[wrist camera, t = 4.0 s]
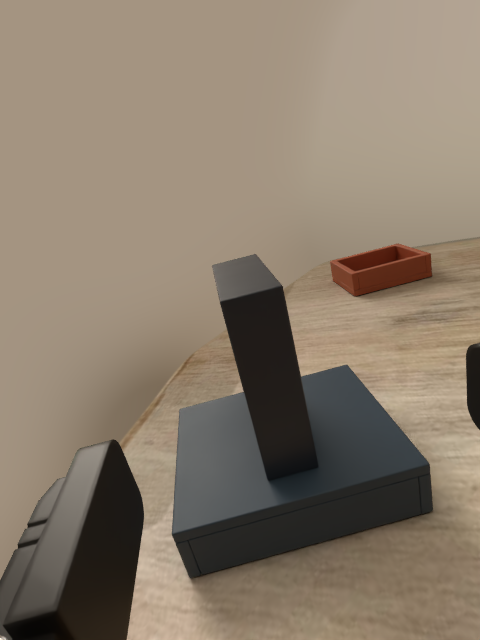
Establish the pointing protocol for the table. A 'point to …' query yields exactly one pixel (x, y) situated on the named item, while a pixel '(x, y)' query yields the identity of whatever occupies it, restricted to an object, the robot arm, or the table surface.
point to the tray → (381, 269)
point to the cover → (284, 445)
